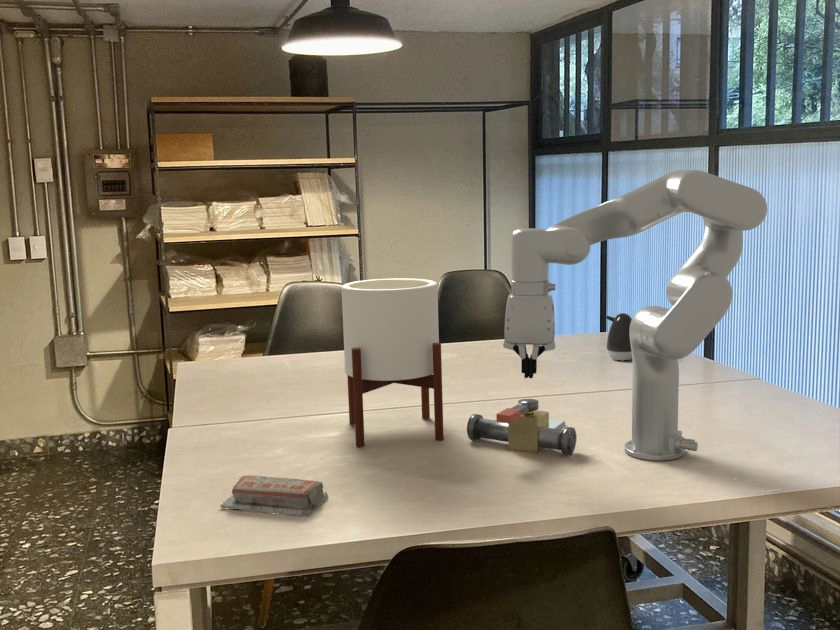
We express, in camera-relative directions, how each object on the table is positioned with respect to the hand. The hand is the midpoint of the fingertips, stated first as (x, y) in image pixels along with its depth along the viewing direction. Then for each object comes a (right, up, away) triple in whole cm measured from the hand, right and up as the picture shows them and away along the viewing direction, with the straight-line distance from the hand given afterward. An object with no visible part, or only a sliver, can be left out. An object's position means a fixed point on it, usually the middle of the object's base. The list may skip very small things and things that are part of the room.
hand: (528, 376), depth 177 cm
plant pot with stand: (-29, -15, +28) cm, 43 cm away
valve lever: (-2, -8, +6) cm, 11 cm away
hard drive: (+6, -15, +26) cm, 30 cm away
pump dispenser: (+43, -2, +99) cm, 108 cm away
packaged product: (-50, -23, -16) cm, 57 cm away
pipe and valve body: (0, -17, +13) cm, 21 cm away
